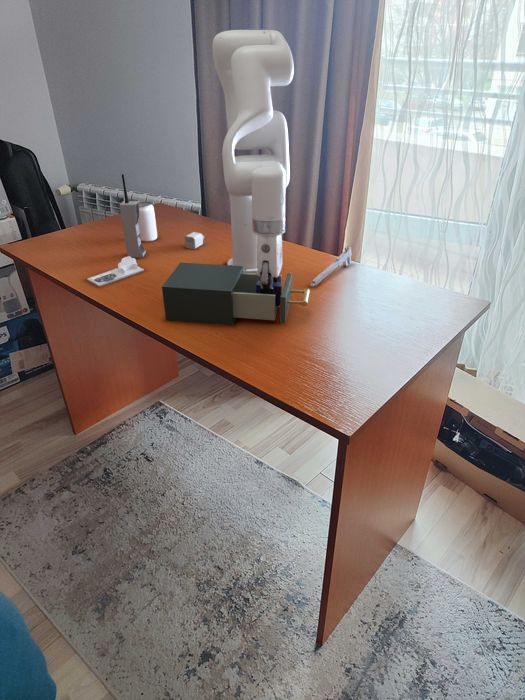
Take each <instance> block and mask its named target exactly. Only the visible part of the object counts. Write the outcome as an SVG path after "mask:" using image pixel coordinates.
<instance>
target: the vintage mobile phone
mask: <svg viewBox="0 0 525 700" xmlns="http://www.w3.org/2000/svg"><path fill="white" fill-rule="evenodd" d="M121 180H122V186H123V195H124V196H123V197H124V200H123V201H122V202H120V204H119V206H118V207H119V214H120V220H121V224H122V225H121V226H122V231H123V237H124V243H125V249H126V251H125V252H126V257H127V256H130V257H131V258H135V259H136V258H138V259H141V258H144V256H145V255H146V251H147V250H146V249H145V247H144V245H143V243H142V241H141V236H140V229H139V222H138V219H139V202H140V201H139V200H129V197H128V192H127V187H126V186H127V185H126V180H125V174H124V173H122V174H121Z"/></svg>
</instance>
